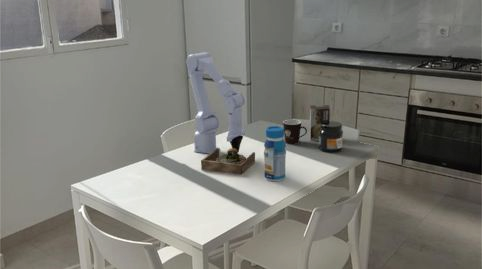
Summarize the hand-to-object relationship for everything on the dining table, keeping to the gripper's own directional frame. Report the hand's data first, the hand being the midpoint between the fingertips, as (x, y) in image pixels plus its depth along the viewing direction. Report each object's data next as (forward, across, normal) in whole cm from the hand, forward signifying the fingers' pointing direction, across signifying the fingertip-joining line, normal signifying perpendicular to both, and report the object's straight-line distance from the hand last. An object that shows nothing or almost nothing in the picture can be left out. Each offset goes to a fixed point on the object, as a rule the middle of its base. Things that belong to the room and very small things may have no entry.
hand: (235, 152), depth 198 cm
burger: (+3, -4, 0) cm, 5 cm away
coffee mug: (+3, +28, -18) cm, 33 cm away
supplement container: (+3, +25, -36) cm, 44 cm away
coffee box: (+3, +38, -28) cm, 47 cm away
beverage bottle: (+3, -14, -22) cm, 26 cm away
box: (+3, -8, 0) cm, 8 cm away
